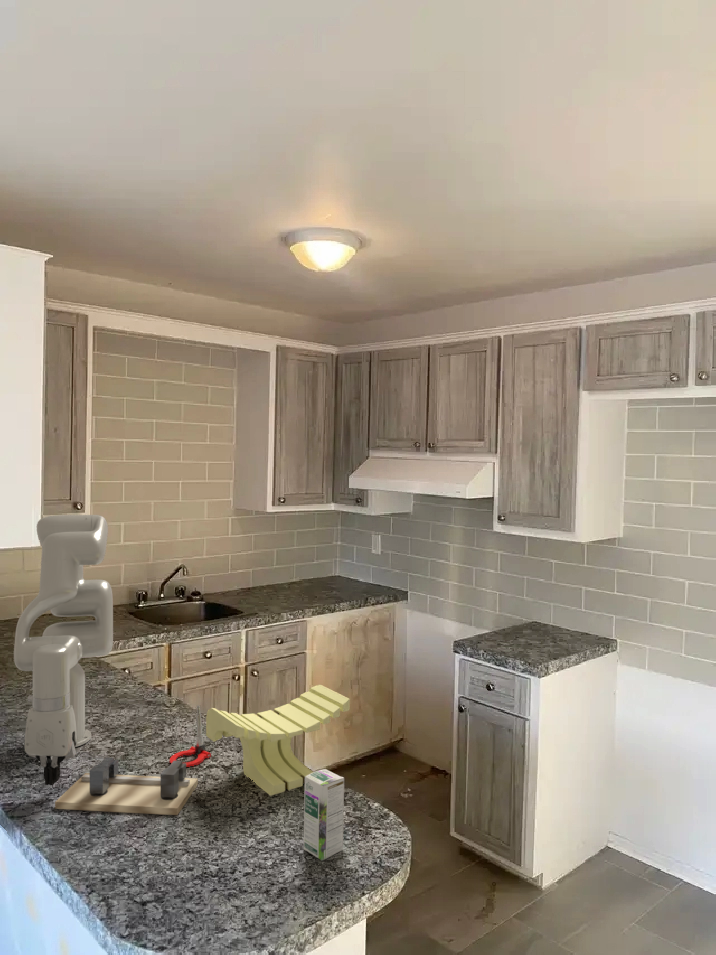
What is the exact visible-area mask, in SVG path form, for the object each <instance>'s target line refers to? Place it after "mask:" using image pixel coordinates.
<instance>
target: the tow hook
mask: <svg viewBox="0 0 716 955" xmlns="http://www.w3.org/2000/svg"><path fill="white" fill-rule="evenodd" d="M200 706H201V705H199V704H198V705H196V714H195V715H196V717H195V718H196V719H195V720H196V736H195V739H196V742H195V743H196V744H195V745H194V746H190V748H189V749H186V750H182V751H178V752H176V753H174V754H173V755H171V757H170V758H169V764H170V763H171V764H172V762H173V761H177V760H178V759H179V758H178V757H180V756H182V757H184V756H183V755H186V756H193V755H196V754H198V755H197V758H196V759H194V760H191V761H187V762H185V763H186V767H189V768H191V767H190V766H193V767H195V766H194V765H196V766H198V765H200V764H202V763H203V762H204V760H205V759H210V758H211V757H212V753H211V752H210V751H207V750H206V745H205V744H204V735H203V732H202V731H203V730H202V713H201V707H200ZM192 754H193V755H192ZM209 757H210V758H209ZM177 758H178V759H177ZM180 758H181V757H180ZM176 759H177V760H176ZM171 764H170V765H171Z"/></svg>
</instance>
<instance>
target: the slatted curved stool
mask: <svg viewBox="0 0 716 955" xmlns="http://www.w3.org/2000/svg"><path fill="white" fill-rule="evenodd" d="M350 701H351V700H350V698H349V697H346V696H344V695H343V694H340V693H339V692H336V691H334V690H332V689H331V688H328V687H326V686H324V685H322V684H317V685H314V686H312V687H310V688H309V690H308V691H306V692H303V693H302V694H300V695H299V697H297V698H294V699H292V700H289V703H287V704H283V705H280V706H279V707H275V708H273V710H272V709H269V710H265V711H261V712H257V713H241V714H238V713H236V712H230V713H229V712H228V711H226V710H219V709H217V708H214V707H210V708H209V709H208V710H207V712H206V717H205V729H206V730H205V737H207V739H208V738H209V740H210V741H212V742H213V743H215V742H217V741H219V740H220V739H222V738H223V737H224V738H229V737H234V738H235V739H239V740H240V743H241V747H242V754H243V755H242V756H243V758H242V770H243V774H244V776H245V775H246V776H245V777H247V778H248V777H249V778H250V779H251V780H250V779H249V778H248V779H249V780H250V781H252V780H253V781H252V782H253V783H254V782H255V783H256V784H255V783H254V784H255V785H256V786H258V787H259V788H260V789H261V790H263V791H264V792H265V793H266V794H268V795H269V796H270V797H271V796H274V795H278V794H281V793H284V792H286V790H288V791H291V790H294V789H298V788H300V787H303V784H304V785H305V776H307V775H309V774H311V773H313V772H314V771H313V770H311V769H310V768H309V767H307V766H306V765H305V764H304V763H302V762H301V761H300V760H299V759H298V758H297V756H296V755H295V754H294V752H293V751H292V747H291V743H292V742H291V741H292V738H293V737H296V736H300V735H303V734H304V733H306V734H308V733H311V732H315V731H318V730H321V724H322V725H329V724H330V723H331V718H333V719H335V718H339V717H341V712H342V713H343V712H349V711H350V708H351V706H350V705H351V704H350Z"/></svg>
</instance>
